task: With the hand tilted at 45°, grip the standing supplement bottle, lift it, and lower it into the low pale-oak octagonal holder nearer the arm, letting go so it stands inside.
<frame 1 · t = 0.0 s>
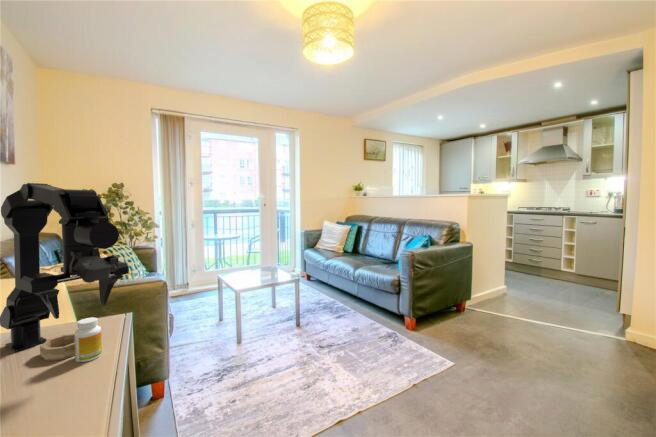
hand: (81, 311, 69), 15 cm above the table, tool pointing down, fingers open, 9 cm apart
supplement bottle: (88, 357, 76), on the table
can holder: (64, 352, 78), on the table
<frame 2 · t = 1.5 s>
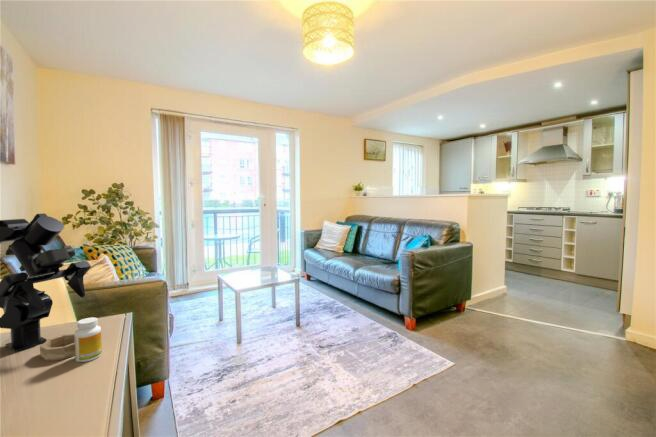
hand: (65, 302, 77), 14 cm above the table, tool tilted 45°, fingers open, 9 cm apart
nothing on the table moved.
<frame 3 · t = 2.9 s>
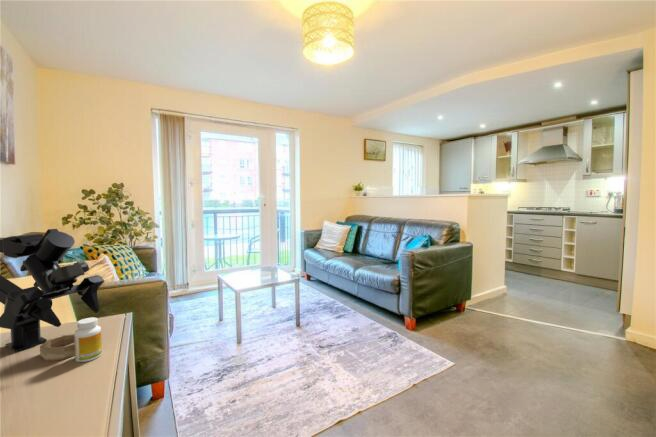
hand: (79, 318, 76), 10 cm above the table, tool tilted 45°, fingers open, 9 cm apart
nothing on the table moved.
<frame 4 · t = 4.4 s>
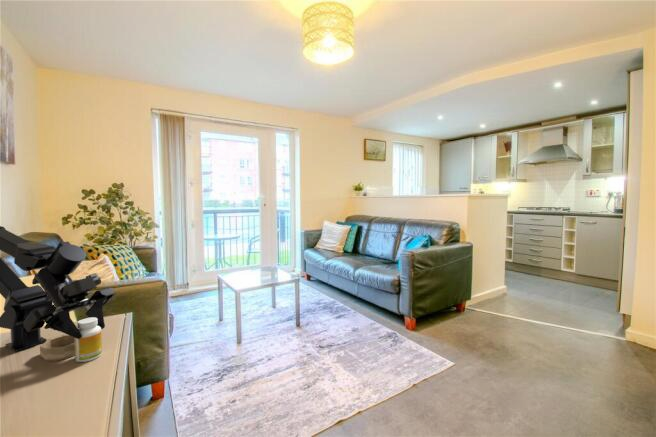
hand: (92, 332, 76), 7 cm above the table, tool tilted 45°, fingers closed on supplement bottle, 5 cm apart
supplement bottle: (88, 357, 76), on the table, touching gripper
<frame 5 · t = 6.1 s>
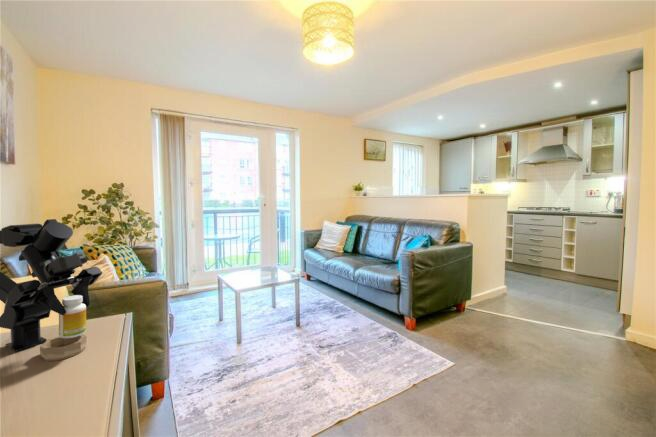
hand: (76, 309, 76), 12 cm above the table, tool tilted 45°, fingers closed on supplement bottle, 5 cm apart
supplement bottle: (73, 334, 77), point 5 cm above the table, touching gripper
when the fingers open (8 cm above the table, at t = 7.7 s): supplement bottle stays where it is, resting on can holder.
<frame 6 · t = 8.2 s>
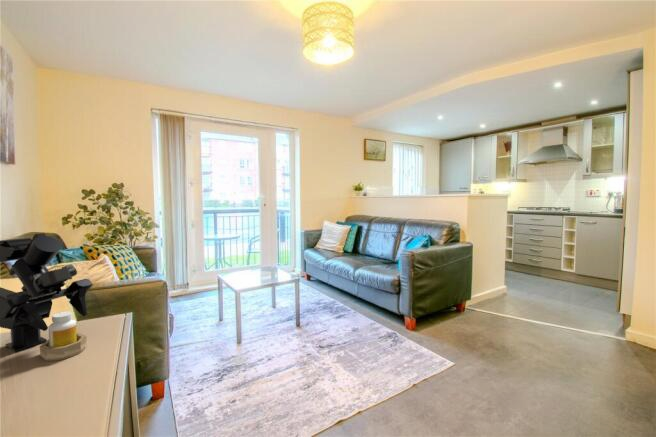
hand: (67, 322, 77), 8 cm above the table, tool tilted 45°, fingers open, 9 cm apart
supplement bottle: (63, 350, 78), resting on can holder
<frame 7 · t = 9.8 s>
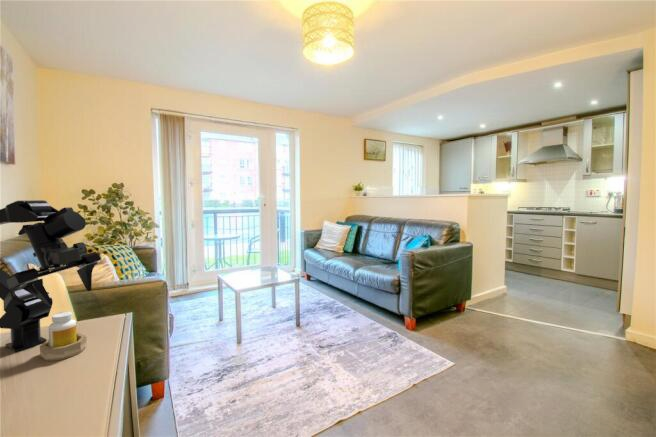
hand: (71, 297, 80), 14 cm above the table, tool tilted 25°, fingers open, 9 cm apart
nothing on the table moved.
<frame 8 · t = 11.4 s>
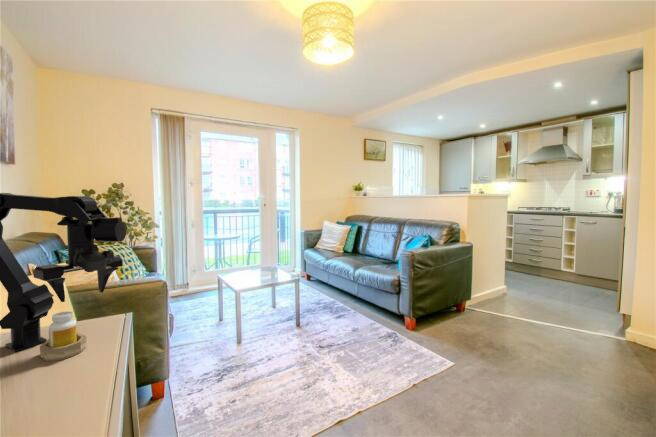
hand: (83, 296, 83), 13 cm above the table, tool pointing down, fingers open, 9 cm apart
nothing on the table moved.
at the end: supplement bottle 0.2 cm off-centre on the can holder, point 0.4 cm above the can holder's base; supplement bottle tilted 0°; the gripper is holding nothing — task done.
